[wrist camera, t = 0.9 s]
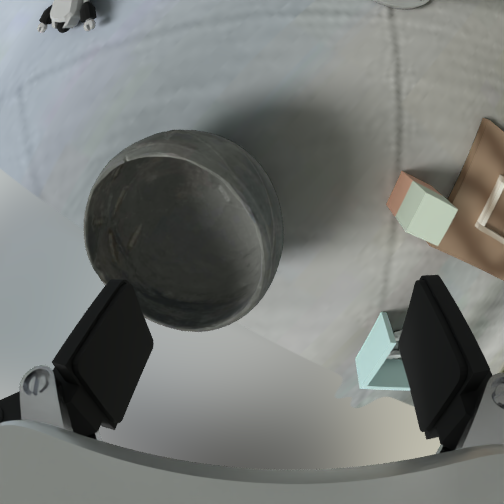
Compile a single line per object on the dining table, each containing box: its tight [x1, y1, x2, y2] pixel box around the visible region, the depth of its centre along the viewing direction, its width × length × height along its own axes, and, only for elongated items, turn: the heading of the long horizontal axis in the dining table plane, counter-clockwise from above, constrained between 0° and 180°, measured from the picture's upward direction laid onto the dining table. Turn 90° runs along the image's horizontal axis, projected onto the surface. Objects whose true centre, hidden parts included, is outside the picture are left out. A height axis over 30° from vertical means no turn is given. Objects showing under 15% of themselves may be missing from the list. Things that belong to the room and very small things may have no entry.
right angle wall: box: [355, 312, 410, 390], centre depth 47 cm, size 12×12×8 cm
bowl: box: [84, 130, 283, 332], centre depth 33 cm, size 21×21×15 cm
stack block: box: [386, 171, 458, 246], centre depth 33 cm, size 5×5×8 cm
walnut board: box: [426, 118, 504, 281], centre depth 33 cm, size 20×20×3 cm
